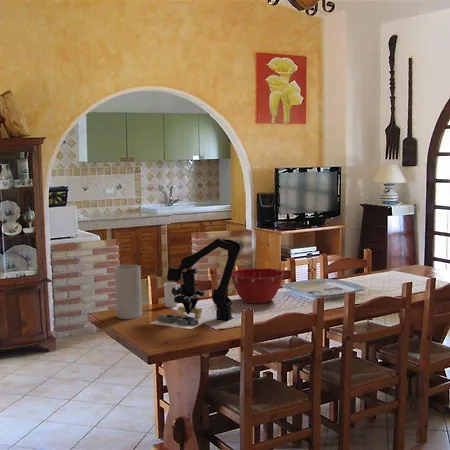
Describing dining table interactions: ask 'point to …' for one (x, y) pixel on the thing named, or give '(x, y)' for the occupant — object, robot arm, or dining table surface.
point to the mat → (176, 324)
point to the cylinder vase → (128, 291)
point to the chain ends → (178, 320)
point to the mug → (170, 294)
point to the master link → (192, 310)
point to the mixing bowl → (257, 284)
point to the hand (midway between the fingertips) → (189, 313)
